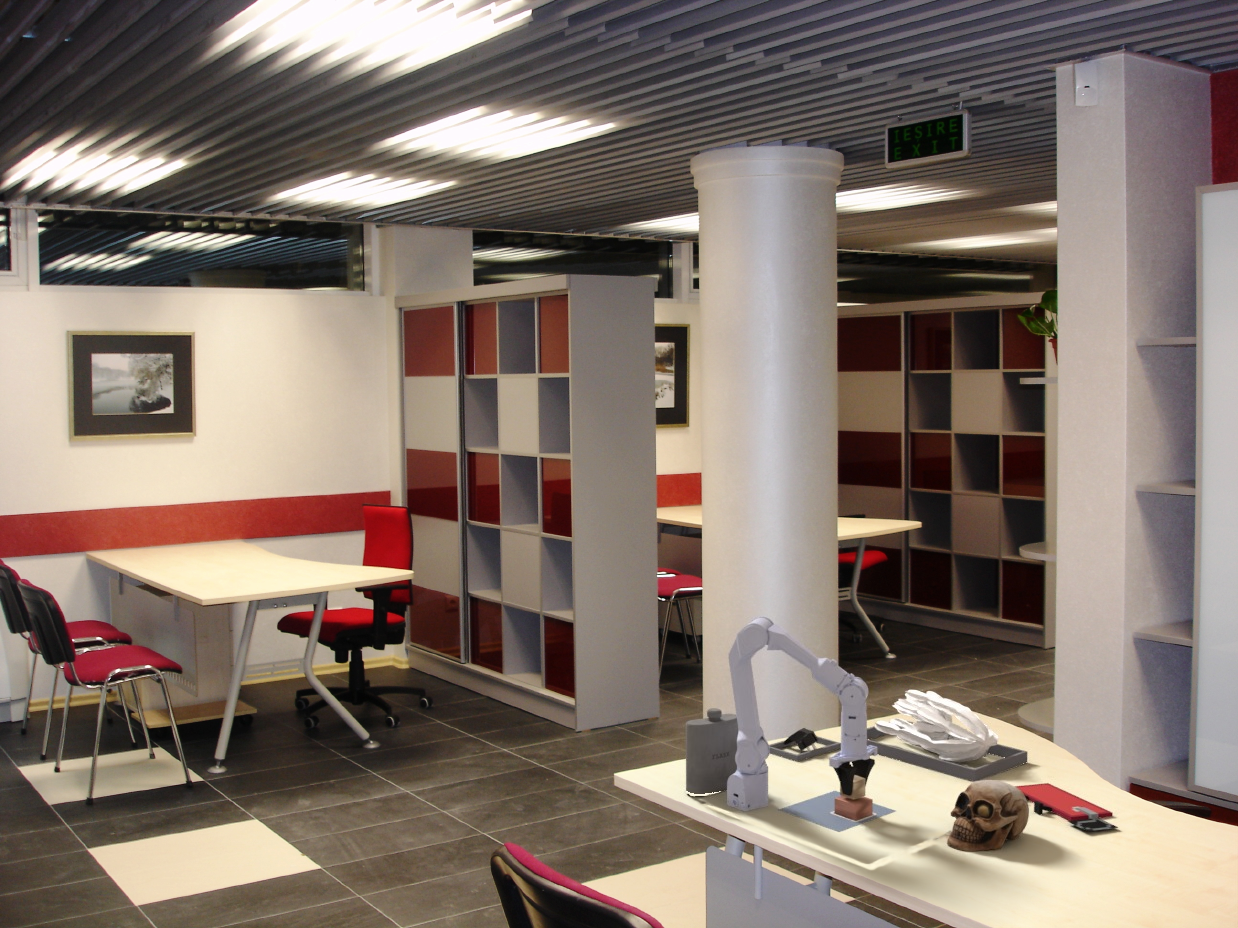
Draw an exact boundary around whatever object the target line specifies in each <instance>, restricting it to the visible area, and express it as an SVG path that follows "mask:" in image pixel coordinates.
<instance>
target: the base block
mask: <svg viewBox="0 0 1238 928" xmlns="http://www.w3.org/2000/svg"><path fill="white" fill-rule="evenodd" d="M873 801H874V800H873V798H869V797H867V796H863V797H860V798H857V799H851V798H848V797H845V796H840V797H837V798H835V814H838V815H840V816H843V817H846V818H849V819H852V820H855V821H856V820H859V819H862V818H864V817H867V816H870V815H873V803H874V802H873Z"/></svg>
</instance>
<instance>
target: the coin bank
mask: <svg viewBox="0 0 1238 928" xmlns="http://www.w3.org/2000/svg"><path fill="white" fill-rule="evenodd" d="M1014 786H1015V785H1012V784H1009V783H1007V782H1005V781H1001V780H997V779H982V780H979V781H975V782H971V783H970V784H968V786H967V787H966V789H964V790H963V791H961V792H960V793H959V795H958V797H957V798H956V802H955V804H954V808H953V809H952V811H950V816H951V817H952V818H955V820H954V822H953V825H952V832H951V833H950V835H948V838H947V841H946V844H947V846H949V847H950V848H952V849H956V850H960V851H965V852H979V851H989V850H994V851H998V850H1000V849H1001V848H1002V847H1003V846H1004V843H1005V841H1012V840H1015V839H1017V838H1018V837H1019V836H1020V835H1021V834H1022V833H1023V832H1024V830H1025V829H1026V827H1027V825H1028V822H1029V817H1030V807H1029V803H1028V800H1026V798H1025V796H1024V794H1023V793H1022V792H1021V791H1020V790H1019V789H1018V788H1017V787H1014Z"/></svg>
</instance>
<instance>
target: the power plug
mask: <svg viewBox="0 0 1238 928" xmlns="http://www.w3.org/2000/svg"><path fill="white" fill-rule="evenodd" d="M817 736H818V735H817V734H816V733H815V731H814V730H811V729H806V727H803V728H801V729H798V730H797V731H795V732H794V733H792V734H791V735H789V736H788V737H787V738H786V739H785V741H784V740H783V741H784V745H787V744H789V743H791V742H793V741H795V742H796V744H795V745H797V747H798V748H799V751H801V752H802V751H804V750H806V749H807V752H808V751H811V750H814V749H818V747H817V746H816V745H815V744H816V743H817V741H819V740H818V738H817ZM810 747H812V749H811V748H810Z"/></svg>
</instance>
